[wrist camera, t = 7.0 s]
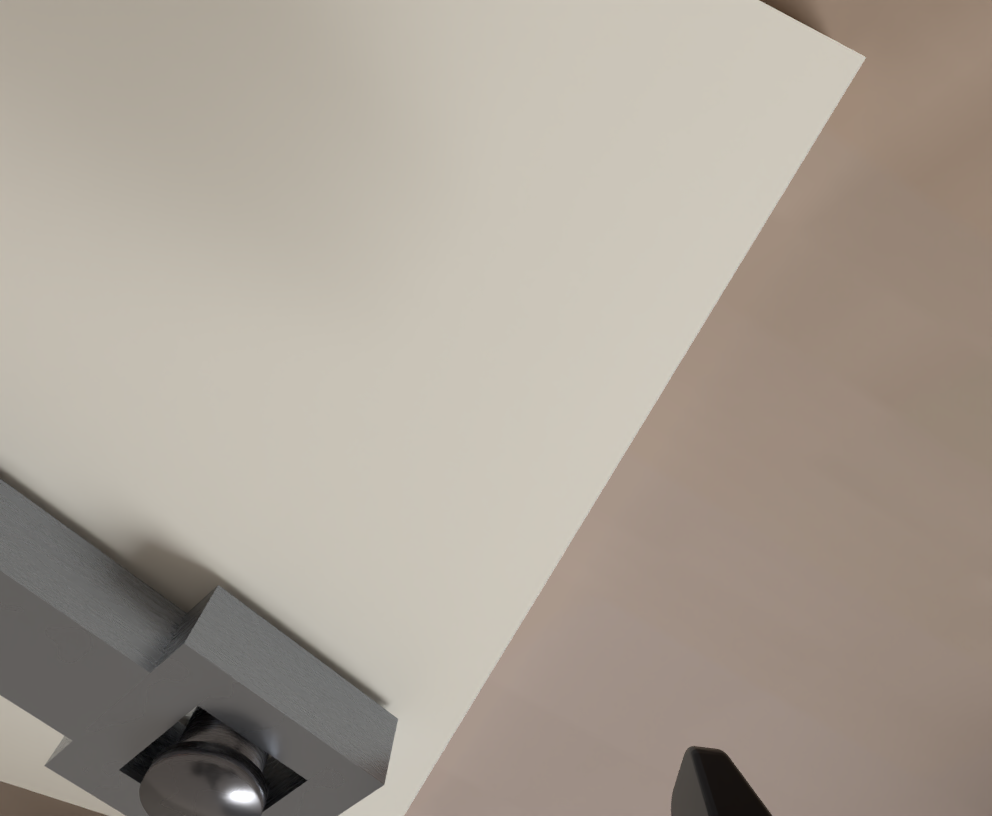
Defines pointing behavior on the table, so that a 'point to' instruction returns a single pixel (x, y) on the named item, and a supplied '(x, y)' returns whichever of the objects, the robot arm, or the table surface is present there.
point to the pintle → (206, 773)
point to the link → (169, 676)
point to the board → (367, 299)
